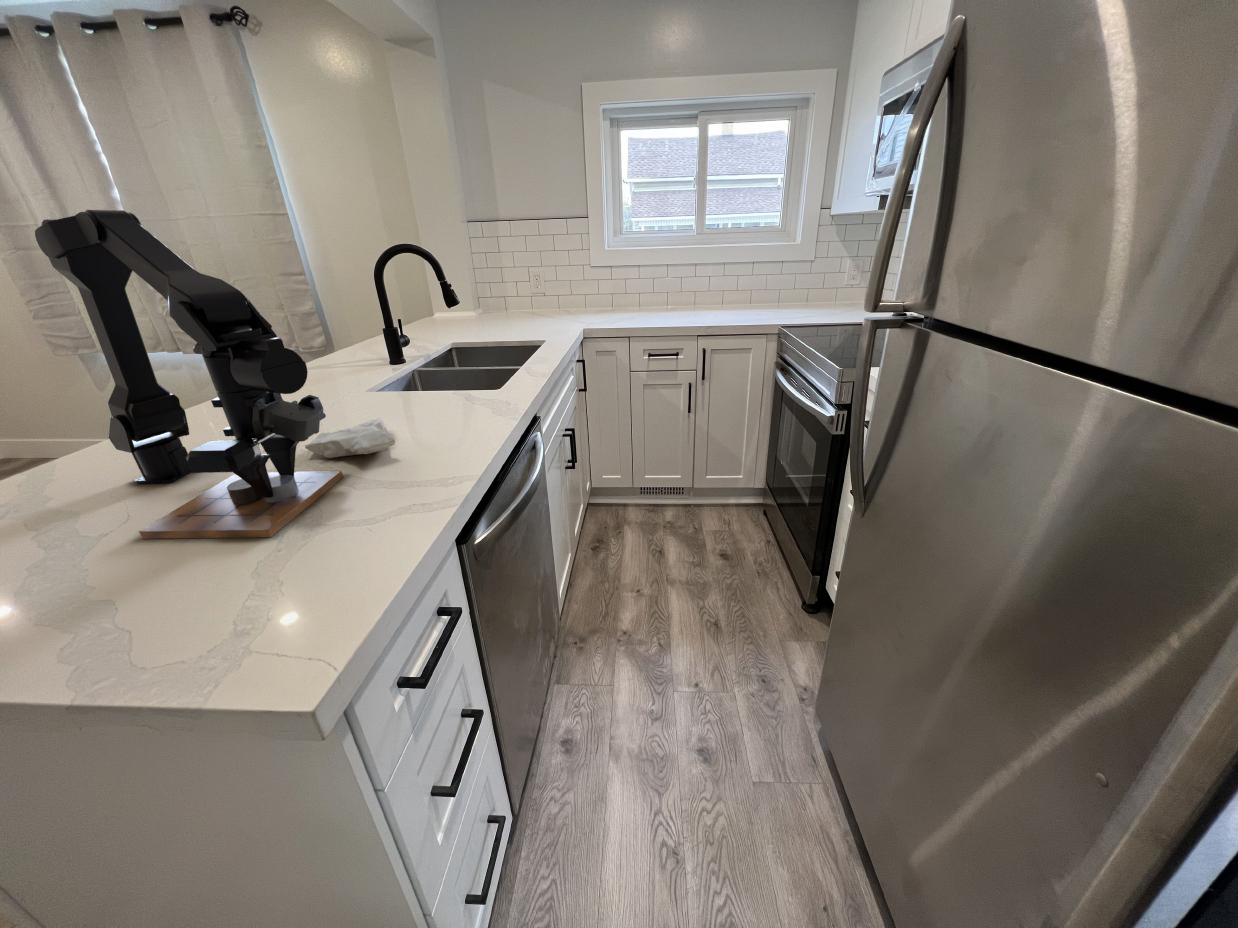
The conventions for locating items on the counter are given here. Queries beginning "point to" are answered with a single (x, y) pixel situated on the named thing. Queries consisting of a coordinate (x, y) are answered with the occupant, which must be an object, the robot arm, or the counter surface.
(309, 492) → the board
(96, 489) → the counter surface
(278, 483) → the grey stone
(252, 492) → the black stone
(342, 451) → the rock
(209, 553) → the counter surface
